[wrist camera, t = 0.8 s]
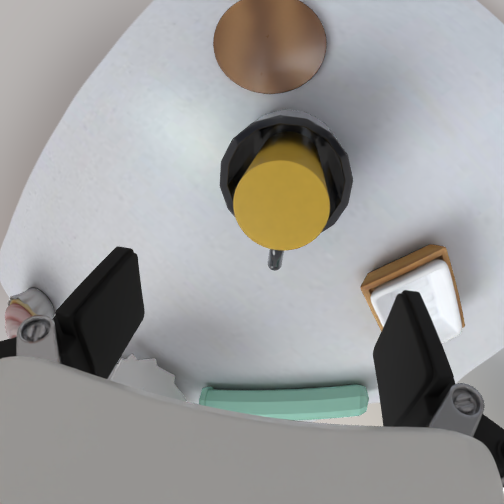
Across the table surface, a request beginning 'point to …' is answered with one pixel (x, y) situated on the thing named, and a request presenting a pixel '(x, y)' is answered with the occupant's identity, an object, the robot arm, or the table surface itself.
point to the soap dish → (418, 289)
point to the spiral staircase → (146, 377)
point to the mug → (299, 122)
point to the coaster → (269, 44)
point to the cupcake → (26, 309)
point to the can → (283, 194)
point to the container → (291, 402)
